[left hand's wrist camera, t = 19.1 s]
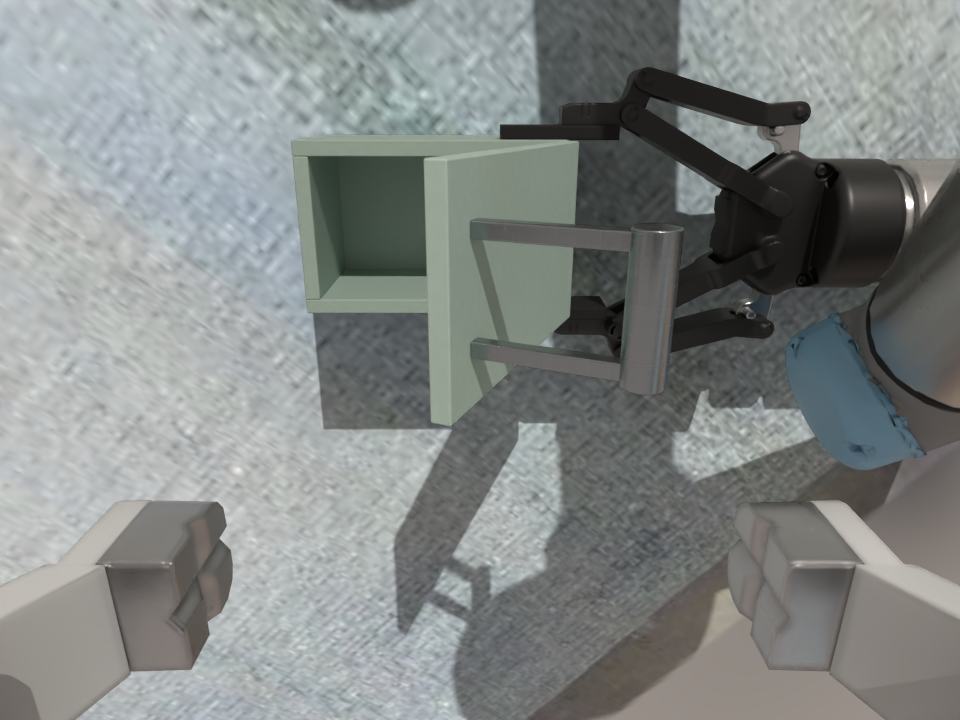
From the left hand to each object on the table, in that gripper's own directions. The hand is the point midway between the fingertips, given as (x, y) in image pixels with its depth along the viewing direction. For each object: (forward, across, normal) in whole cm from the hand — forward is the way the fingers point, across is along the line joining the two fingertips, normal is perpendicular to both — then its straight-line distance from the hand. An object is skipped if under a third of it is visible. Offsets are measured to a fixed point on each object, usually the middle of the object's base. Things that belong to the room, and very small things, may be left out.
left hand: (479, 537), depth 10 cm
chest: (+37, +3, 0) cm, 37 cm away
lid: (+21, -1, 0) cm, 21 cm away
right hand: (+31, -1, 0) cm, 31 cm away
